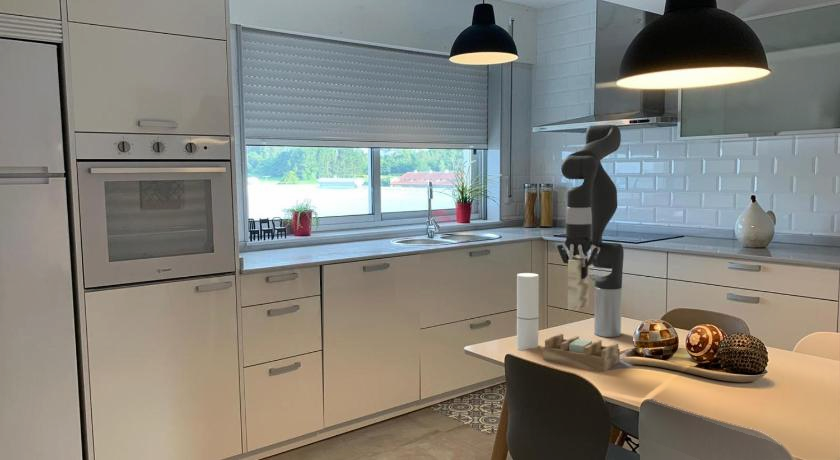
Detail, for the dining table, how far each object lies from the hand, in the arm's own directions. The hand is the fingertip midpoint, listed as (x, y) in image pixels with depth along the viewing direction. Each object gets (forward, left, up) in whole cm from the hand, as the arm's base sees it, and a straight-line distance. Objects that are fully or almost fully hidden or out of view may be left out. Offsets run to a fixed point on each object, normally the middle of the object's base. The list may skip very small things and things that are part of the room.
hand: (578, 277), depth 200 cm
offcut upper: (0, +1, -23) cm, 23 cm away
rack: (0, +1, -27) cm, 27 cm away
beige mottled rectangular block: (0, 0, -9) cm, 9 cm away
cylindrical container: (-5, -20, -27) cm, 34 cm away
